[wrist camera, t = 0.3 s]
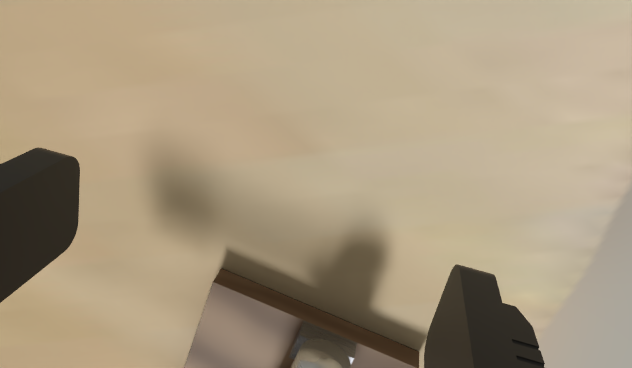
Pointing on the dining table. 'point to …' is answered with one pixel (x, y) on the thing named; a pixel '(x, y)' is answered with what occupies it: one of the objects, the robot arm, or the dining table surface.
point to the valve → (321, 348)
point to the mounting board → (275, 330)
